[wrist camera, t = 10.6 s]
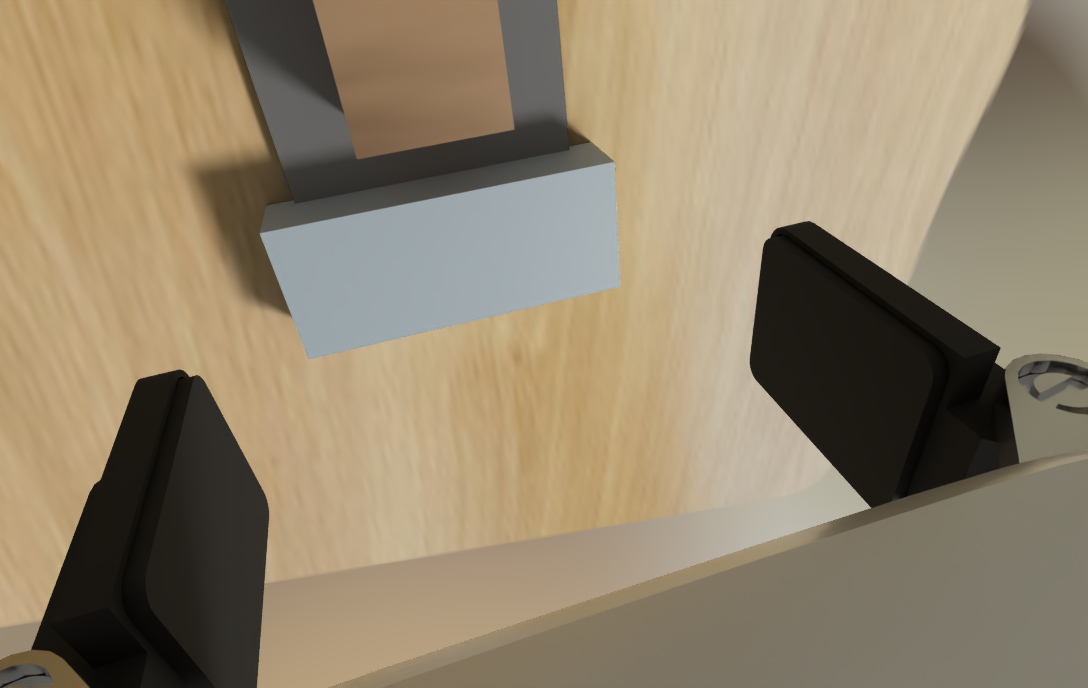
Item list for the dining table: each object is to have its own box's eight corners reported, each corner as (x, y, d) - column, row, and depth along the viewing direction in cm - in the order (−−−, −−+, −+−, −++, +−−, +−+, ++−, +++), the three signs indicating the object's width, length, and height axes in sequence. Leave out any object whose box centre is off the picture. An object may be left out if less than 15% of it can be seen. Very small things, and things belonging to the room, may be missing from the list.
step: (266, 205, 23) (259, 233, 21) (591, 141, 24) (614, 161, 22) (310, 324, 25) (308, 359, 23) (598, 259, 27) (620, 286, 25)
